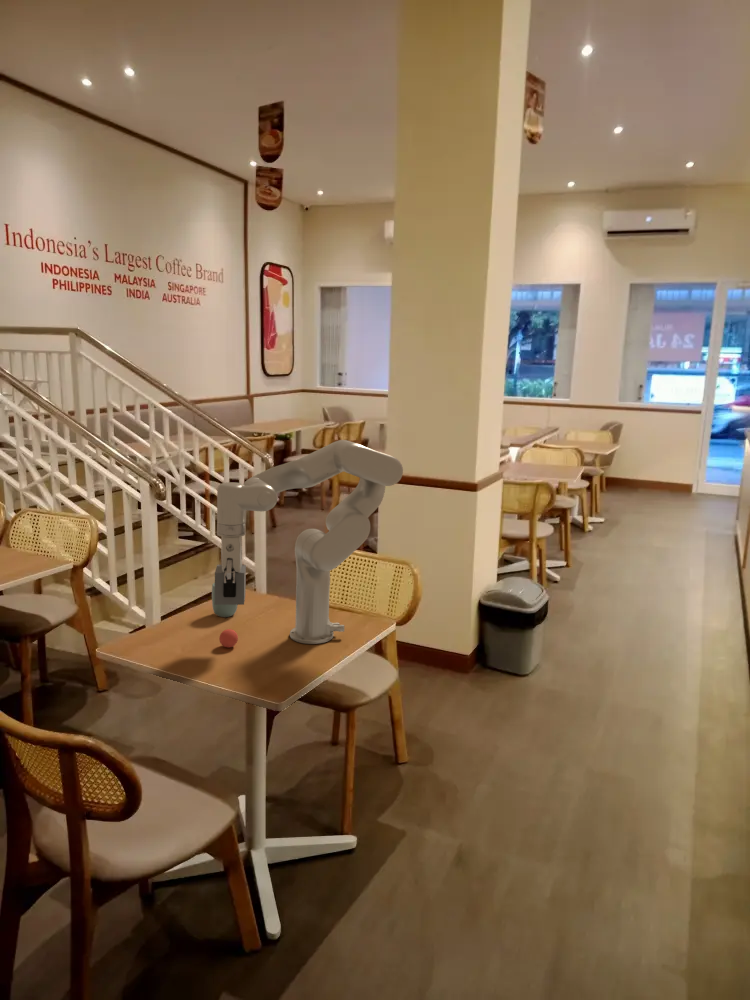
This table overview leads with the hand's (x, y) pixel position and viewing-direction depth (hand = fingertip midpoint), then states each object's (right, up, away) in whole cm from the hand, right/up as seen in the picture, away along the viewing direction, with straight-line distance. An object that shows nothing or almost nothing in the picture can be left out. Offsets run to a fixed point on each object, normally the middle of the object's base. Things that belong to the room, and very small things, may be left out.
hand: (230, 591), depth 193 cm
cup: (-7, -11, +27) cm, 30 cm away
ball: (-1, -13, +2) cm, 13 cm away
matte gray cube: (0, -2, 0) cm, 2 cm away
